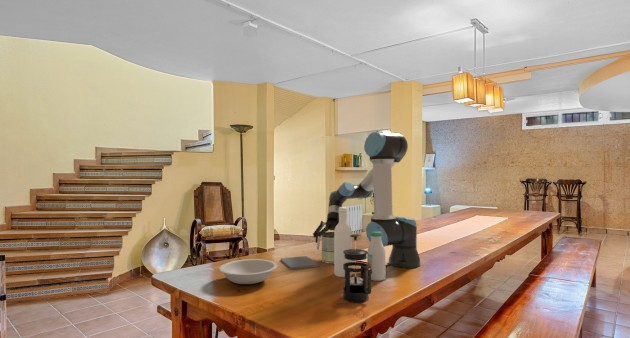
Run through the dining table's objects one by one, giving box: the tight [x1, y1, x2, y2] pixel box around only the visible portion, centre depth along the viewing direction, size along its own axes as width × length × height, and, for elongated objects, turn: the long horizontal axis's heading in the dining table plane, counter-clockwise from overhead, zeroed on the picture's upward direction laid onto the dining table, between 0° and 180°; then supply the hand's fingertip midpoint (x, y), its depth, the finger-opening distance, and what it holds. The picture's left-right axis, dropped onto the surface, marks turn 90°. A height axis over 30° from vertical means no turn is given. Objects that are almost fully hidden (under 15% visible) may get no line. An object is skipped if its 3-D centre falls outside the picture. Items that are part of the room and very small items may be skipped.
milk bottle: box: [366, 231, 387, 282], centre depth 152 cm, size 8×8×20 cm
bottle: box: [333, 206, 353, 278], centre depth 157 cm, size 8×8×30 cm
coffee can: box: [321, 231, 334, 264], centre depth 182 cm, size 10×10×14 cm
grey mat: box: [280, 255, 320, 270], centre depth 177 cm, size 18×14×1 cm
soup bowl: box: [218, 258, 278, 285], centre depth 148 cm, size 24×24×7 cm
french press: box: [342, 233, 372, 304], centre depth 128 cm, size 12×9×23 cm
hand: (330, 248), depth 180 cm, fingers open, 13 cm apart
